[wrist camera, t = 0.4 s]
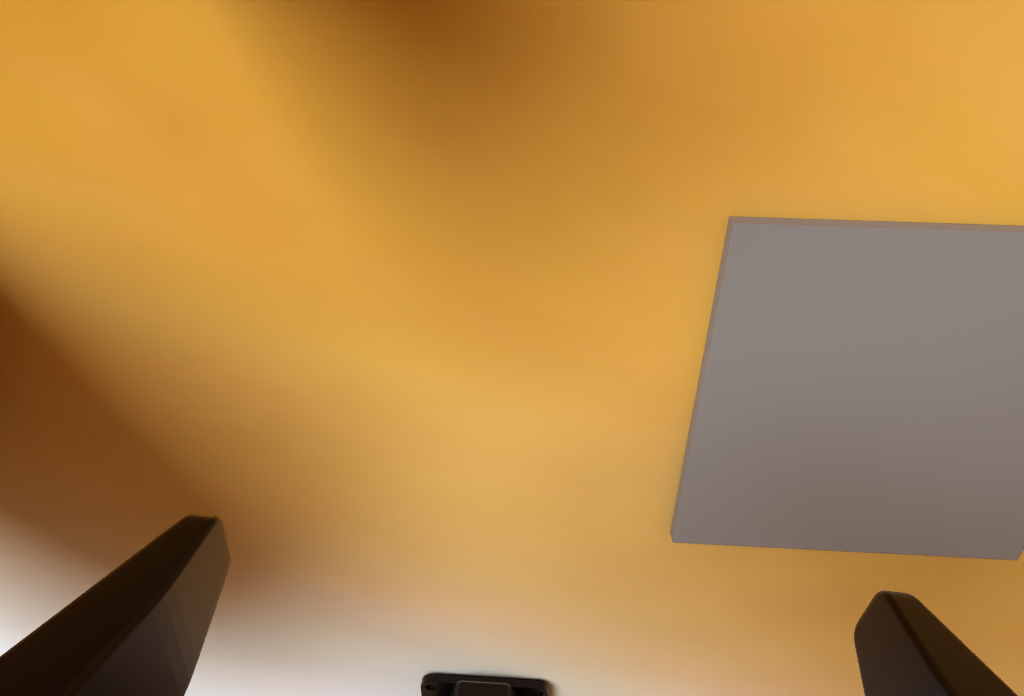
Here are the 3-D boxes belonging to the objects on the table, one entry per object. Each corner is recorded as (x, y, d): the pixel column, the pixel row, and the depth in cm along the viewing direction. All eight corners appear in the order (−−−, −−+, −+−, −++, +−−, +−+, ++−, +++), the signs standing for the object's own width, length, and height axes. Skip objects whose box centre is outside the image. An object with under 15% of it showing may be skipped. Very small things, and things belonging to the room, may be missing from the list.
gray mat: (1008, 549, 28) (1017, 560, 27) (670, 531, 29) (672, 542, 28) (1186, 230, 21) (1202, 238, 20) (729, 216, 21) (733, 223, 21)
